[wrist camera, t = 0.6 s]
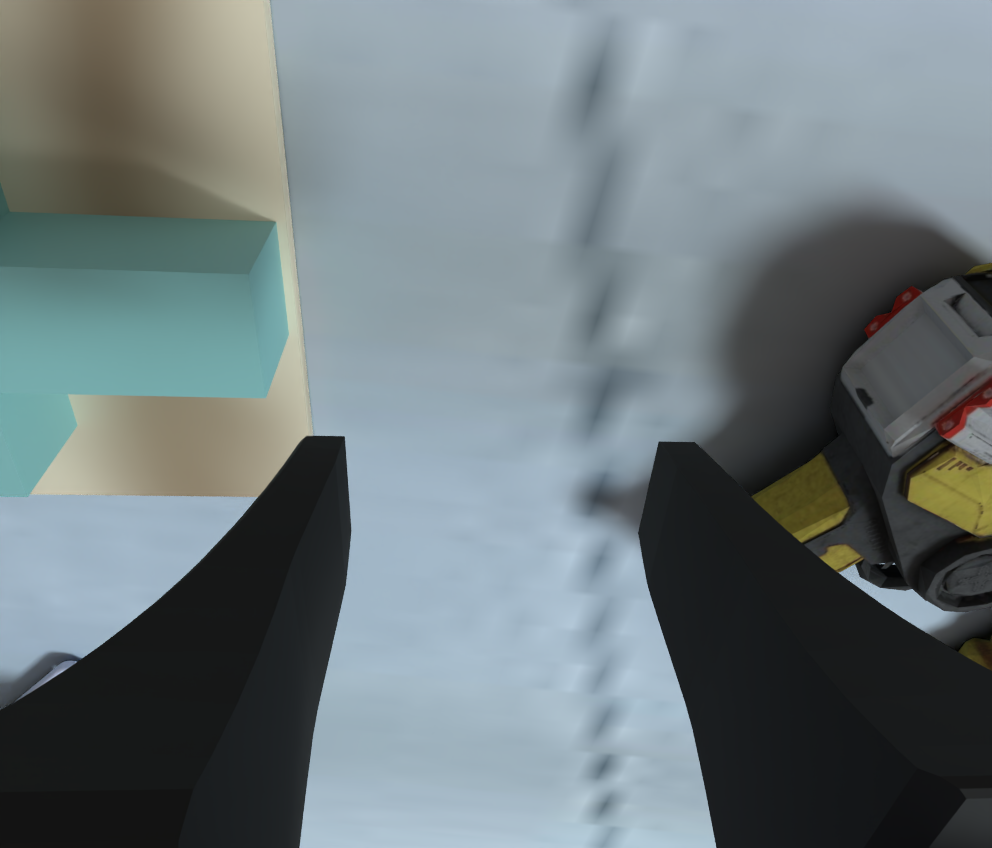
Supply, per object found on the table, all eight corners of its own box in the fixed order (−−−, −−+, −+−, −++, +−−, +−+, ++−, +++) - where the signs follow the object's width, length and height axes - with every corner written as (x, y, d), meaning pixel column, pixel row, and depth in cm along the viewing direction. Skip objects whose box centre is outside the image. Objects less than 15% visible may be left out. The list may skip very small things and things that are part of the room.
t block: (-37, 423, 21) (-103, 495, 18) (-191, 61, 15) (-311, 93, 13) (299, 429, 21) (279, 499, 19) (260, 84, 16) (226, 119, 14)
